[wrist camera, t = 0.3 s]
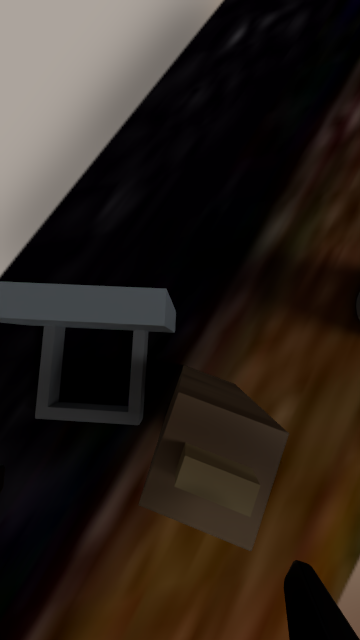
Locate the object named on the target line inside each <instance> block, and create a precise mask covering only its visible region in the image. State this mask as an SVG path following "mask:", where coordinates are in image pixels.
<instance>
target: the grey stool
mask: <svg viewBox="0 0 360 640" xmlns="http://www.w3.org/2000/svg"><path fill="white" fill-rule="evenodd" d="M175 319H176V311H175V308H174V306H173V303H172V301H171V299H170V296H169V294H168V291H167V289H160V288H136V287H113V286H90V285H67V284H43V283H20V282H0V322H2V323H12V324H22V325H33V326H44V332H43V342H42V352H41V362H40V372H39V382H38V393H37V403H36V413H35V418H37V419H52V420H68V421H83V422H98V423H114V424H129V425H139V424H140V423H141V421H142V419H143V410H144V394H145V378H146V362H147V346H148V331H153V332H174V333H175ZM65 327H73V328H93V329H113V330H133V331H134V332H133V347H132V362H131V376H130V391H129V406H116V405H100V404H84V403H68V402H59V392H60V381H61V370H62V359H63V348H64V337H65Z"/></svg>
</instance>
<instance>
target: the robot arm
mask: <svg viewBox="0 0 360 640" xmlns="http://www.w3.org/2000/svg"><path fill="white" fill-rule="evenodd" d="M4 473H5V467H4V465H2V464H0V492H1V490H2V488H3V484H4ZM284 594H285V603H286V612H287V621H288V630H289V639H290V640H360V639H359V638H358V636H357V635H356V633H355V632H354V630H353V629H352V627H351V626H350V624H349V623H348V621H347V619H346V618H345V616H344V615H343V613H342V612H341V610H340V609H339V607H338V606H337V604H336V603H335V601H334V600H333V598H332V597H331V595H330V594H329V592H328V591H327V589H326V588H325V586H324V584H323V583H322V581H321V580H320V578H319V577H318V575H317V574H316V572H315V571H314V569H313V568H312V567H311V566H310V565H309V564H307V563H304V562H301V561H298V560H295V561H294V562H293V563H292V565H291V567H290V569H289V571H288V573H287V575H286V577H285V580H284Z"/></svg>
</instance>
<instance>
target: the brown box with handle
mask: <svg viewBox="0 0 360 640" xmlns="http://www.w3.org/2000/svg"><path fill="white" fill-rule="evenodd" d="M288 435H289V433H288V432H287V431H285V430H284V429H283V428H282V427H281V426H280V425H279V424H278V423H277V422H276V421H275V420H273V419H272V418H271V417H270V416H269V415H268V414H267V413H266V412H265V411H264V410H263V409H261V408H260V407H259V406H258V405H257V404H256V403H255V402H254V401H253V400H252V399H251V398H250V397H248V396H247V395H246V394H245V393H244V392H243V391H242V390H241V389H240V388H239V387H238V386H236V385H235V384H233V383H231V382H228V381H225V380H222V379H220V378H217V377H214V376H212V375H209V374H206V373H203V372H201V371H198V370H195V369H193V368H190V367H187V366H185V365H184V366H183V369H182V371H181V374H180V377H179V380H178V383H177V385H176V388H175V391H174V394H173V397H172V399H171V402H170V405H169V408H168V411H167V413H166V416H165V419H164V423H163V426H162V429H161V433H160V436H159V439H158V443H157V446H156V449H155V452H154V456H153V459H152V462H151V466H150V469H149V472H148V476H147V479H146V482H145V485H144V489H143V492H142V495H141V499H140V502H139V505H140V506H142V507H145V508H147V509H150V510H152V511H155V512H157V513H159V514H162V515H164V516H167V517H169V518H172V519H174V520H176V521H179V522H181V523H184V524H186V525H189V526H191V527H193V528H196V529H198V530H201V531H203V532H206V533H208V534H210V535H213V536H215V537H218V538H220V539H223V540H225V541H227V542H230V543H232V544H235V545H237V546H240V547H242V548H244V549H247V550H249V551H252V548H253V545H254V542H255V538H256V535H257V532H258V529H259V526H260V523H261V520H262V516H263V513H264V510H265V507H266V504H267V501H268V498H269V494H270V491H271V488H272V485H273V482H274V479H275V476H276V472H277V469H278V466H279V463H280V460H281V457H282V454H283V450H284V447H285V444H286V441H287V438H288Z"/></svg>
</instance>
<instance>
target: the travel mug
mask: <svg viewBox="0 0 360 640" xmlns="http://www.w3.org/2000/svg"><path fill="white" fill-rule="evenodd" d="M356 310H357V315H358V318H359V320H360V292H359V294H358V297H357V302H356Z"/></svg>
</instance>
